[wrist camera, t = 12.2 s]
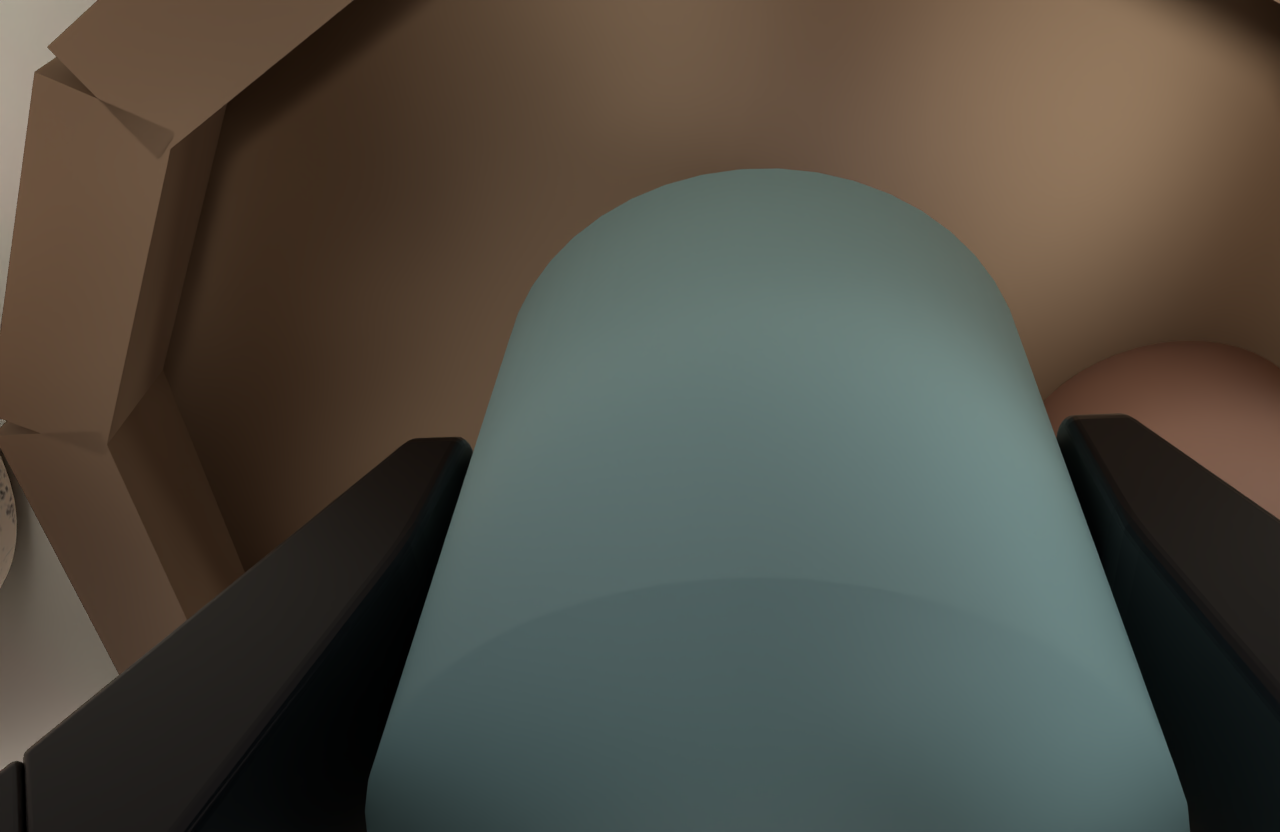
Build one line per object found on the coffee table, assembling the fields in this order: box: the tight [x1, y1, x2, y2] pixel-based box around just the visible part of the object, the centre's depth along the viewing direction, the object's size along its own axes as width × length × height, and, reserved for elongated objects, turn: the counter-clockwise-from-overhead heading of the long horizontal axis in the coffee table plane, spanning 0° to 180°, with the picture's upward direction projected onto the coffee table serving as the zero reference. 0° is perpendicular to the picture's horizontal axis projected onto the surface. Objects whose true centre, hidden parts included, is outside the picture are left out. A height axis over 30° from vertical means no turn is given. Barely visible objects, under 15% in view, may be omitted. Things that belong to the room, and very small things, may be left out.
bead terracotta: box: [1043, 341, 1280, 519], centre depth 15 cm, size 4×4×4 cm
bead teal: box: [365, 168, 1190, 832], centre depth 7 cm, size 4×4×4 cm
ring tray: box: [0, 0, 1280, 675], centre depth 16 cm, size 20×20×3 cm
